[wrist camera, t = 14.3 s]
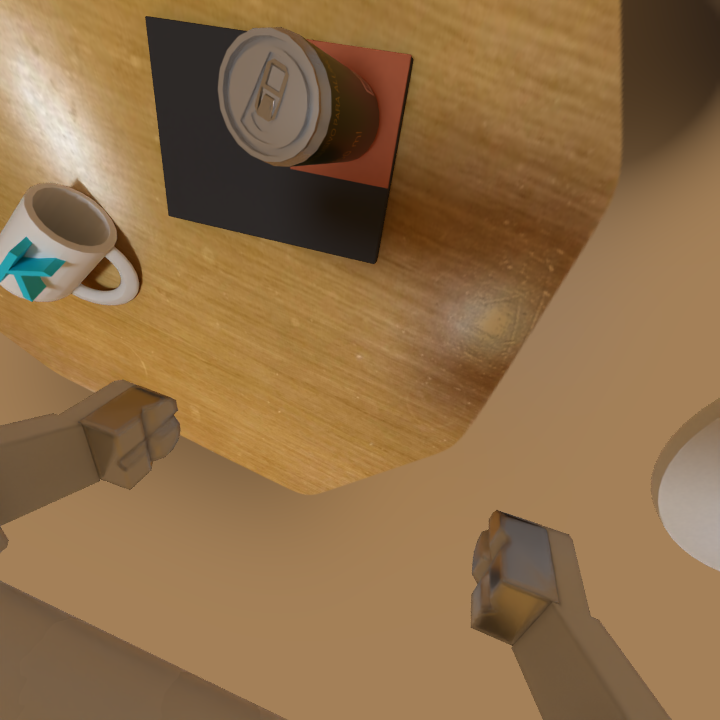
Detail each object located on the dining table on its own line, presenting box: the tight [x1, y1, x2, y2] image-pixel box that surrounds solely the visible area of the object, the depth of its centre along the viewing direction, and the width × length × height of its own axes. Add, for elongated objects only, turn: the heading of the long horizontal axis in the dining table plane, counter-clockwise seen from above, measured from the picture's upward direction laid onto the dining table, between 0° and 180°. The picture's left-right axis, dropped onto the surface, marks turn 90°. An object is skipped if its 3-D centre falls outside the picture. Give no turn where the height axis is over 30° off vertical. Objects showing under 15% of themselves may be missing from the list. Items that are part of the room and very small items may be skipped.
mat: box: [145, 16, 413, 264], centre depth 29 cm, size 20×14×1 cm
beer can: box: [218, 27, 379, 167], centre depth 21 cm, size 5×5×12 cm
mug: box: [0, 183, 139, 305], centre depth 37 cm, size 12×9×12 cm
